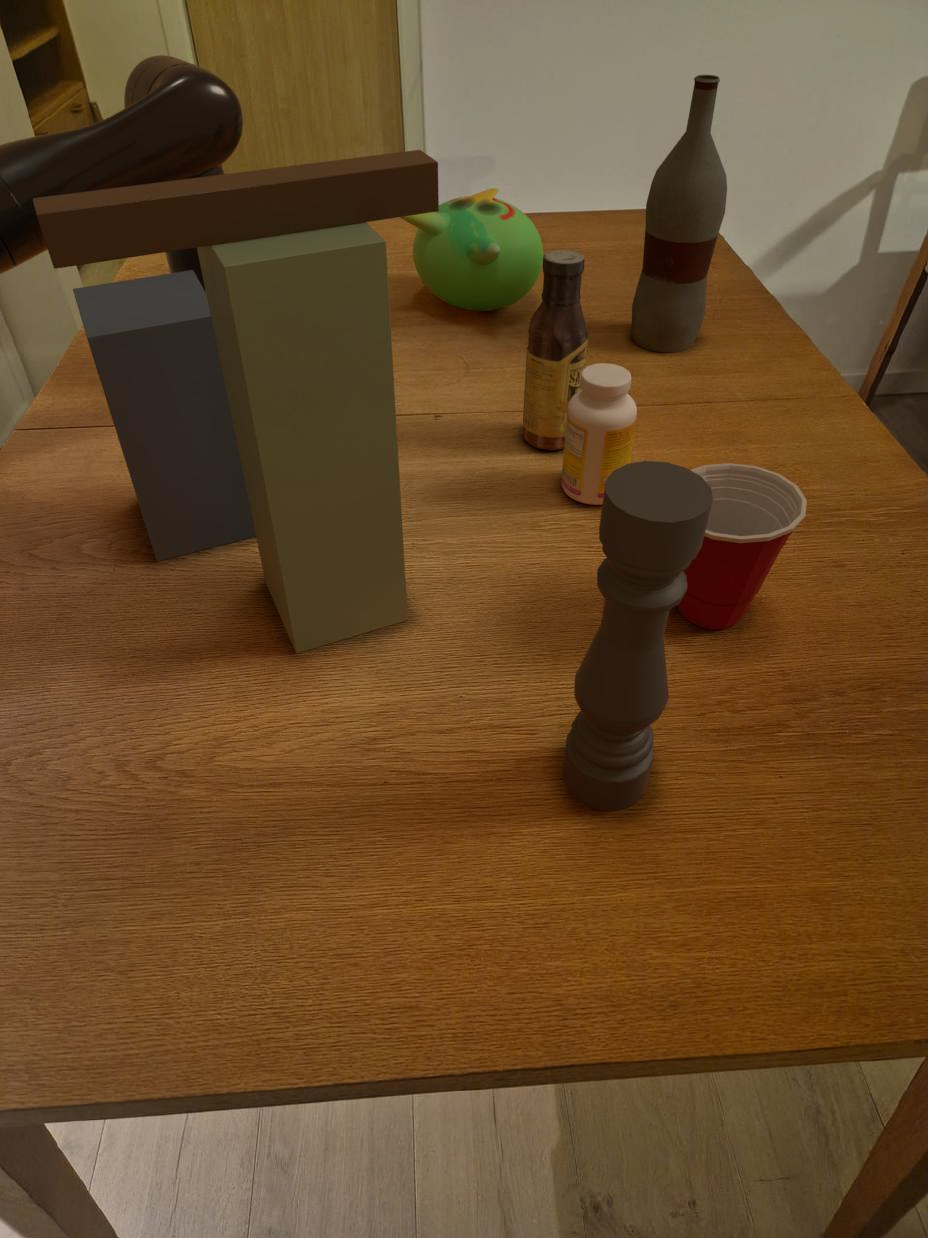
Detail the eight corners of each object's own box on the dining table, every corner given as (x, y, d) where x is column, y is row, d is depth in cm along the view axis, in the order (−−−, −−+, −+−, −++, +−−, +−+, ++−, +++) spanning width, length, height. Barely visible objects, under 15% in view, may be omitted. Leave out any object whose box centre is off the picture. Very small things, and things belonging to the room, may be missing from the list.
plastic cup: (670, 553, 82) (693, 443, 73) (784, 592, 78) (822, 480, 69) (625, 622, 75) (645, 509, 67) (748, 668, 71) (786, 553, 63)
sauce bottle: (574, 456, 94) (593, 272, 80) (517, 449, 95) (527, 267, 81) (580, 425, 98) (599, 247, 85) (526, 419, 99) (536, 242, 86)
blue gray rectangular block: (156, 561, 81) (86, 337, 65) (139, 504, 87) (72, 288, 72) (262, 534, 84) (218, 314, 68) (237, 481, 90) (192, 269, 75)
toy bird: (559, 298, 124) (568, 188, 114) (499, 343, 113) (502, 226, 103) (454, 271, 131) (453, 166, 121) (388, 311, 120) (381, 199, 110)
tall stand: (296, 653, 72) (223, 266, 50) (265, 582, 78) (189, 212, 57) (408, 620, 75) (386, 240, 53) (369, 553, 81) (335, 192, 60)
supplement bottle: (630, 477, 91) (649, 364, 82) (617, 513, 86) (635, 396, 77) (568, 466, 92) (580, 353, 84) (553, 500, 88) (563, 384, 79)
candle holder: (555, 744, 65) (589, 460, 48) (636, 739, 65) (699, 455, 48) (569, 814, 60) (613, 528, 43) (656, 808, 61) (733, 522, 44)
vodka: (690, 323, 118) (739, 67, 97) (706, 354, 111) (761, 86, 91) (622, 324, 118) (656, 67, 97) (634, 355, 111) (673, 87, 90)
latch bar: (54, 269, 50) (36, 214, 47) (49, 251, 52) (32, 197, 49) (439, 211, 57) (438, 161, 55) (421, 197, 59) (420, 149, 57)
